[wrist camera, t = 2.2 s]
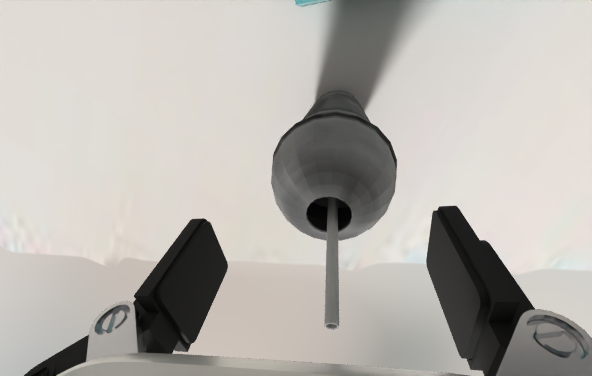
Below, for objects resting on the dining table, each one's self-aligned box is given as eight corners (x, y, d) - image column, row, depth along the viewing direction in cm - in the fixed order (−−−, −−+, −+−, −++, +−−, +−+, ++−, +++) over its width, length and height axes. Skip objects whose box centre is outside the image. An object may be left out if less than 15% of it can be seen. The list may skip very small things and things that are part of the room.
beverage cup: (367, 62, 22) (442, 189, 5) (381, 140, 25) (454, 364, 9) (288, 88, 24) (168, 237, 8) (311, 157, 28) (262, 362, 11)
